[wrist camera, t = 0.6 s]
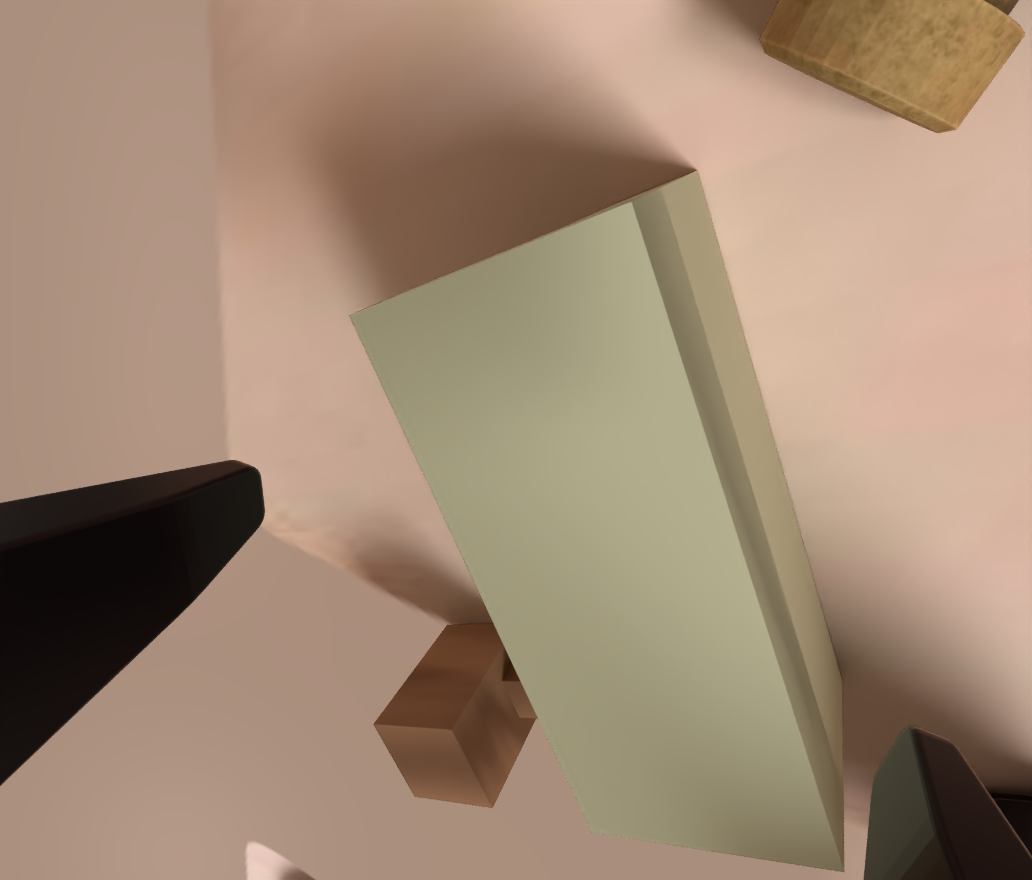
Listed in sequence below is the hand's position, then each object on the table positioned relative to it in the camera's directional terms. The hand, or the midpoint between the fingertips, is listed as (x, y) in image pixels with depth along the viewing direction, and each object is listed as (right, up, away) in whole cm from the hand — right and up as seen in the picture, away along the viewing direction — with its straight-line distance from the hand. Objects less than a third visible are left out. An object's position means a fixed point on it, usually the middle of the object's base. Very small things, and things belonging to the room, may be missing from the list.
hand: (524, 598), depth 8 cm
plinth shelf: (+5, +1, +14) cm, 15 cm away
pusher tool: (+3, -7, +19) cm, 21 cm away
